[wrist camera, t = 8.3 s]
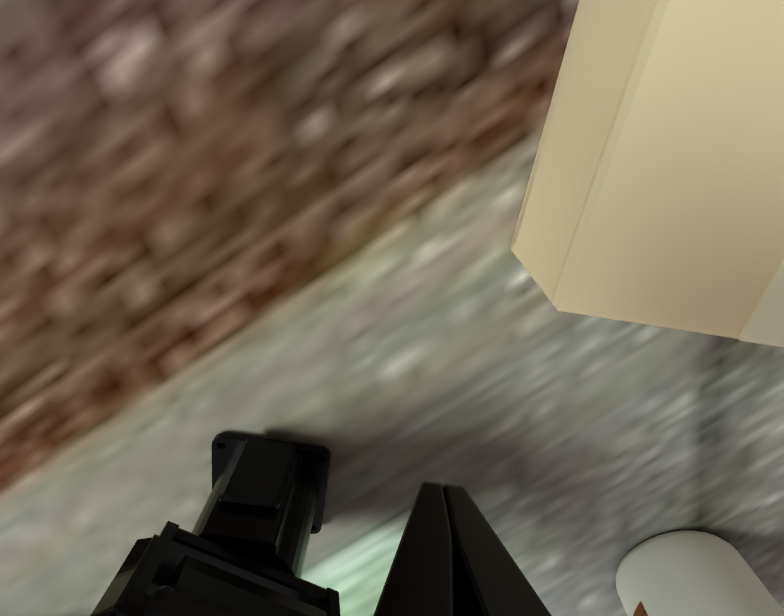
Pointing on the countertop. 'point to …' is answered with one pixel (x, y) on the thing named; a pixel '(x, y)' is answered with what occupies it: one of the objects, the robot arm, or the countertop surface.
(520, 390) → the countertop surface
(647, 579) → the milk bottle
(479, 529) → the robot arm
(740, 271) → the lid
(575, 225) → the cardboard box
